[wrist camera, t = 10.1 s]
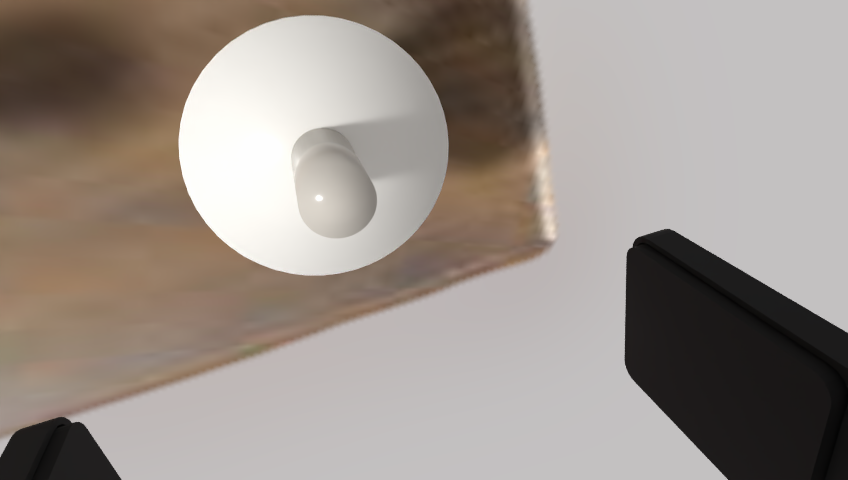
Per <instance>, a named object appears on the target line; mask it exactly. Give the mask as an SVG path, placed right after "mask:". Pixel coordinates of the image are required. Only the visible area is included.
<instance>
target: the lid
mask: <svg viewBox="0 0 848 480" xmlns="http://www.w3.org/2000/svg"><path fill="white" fill-rule="evenodd" d="M448 148H449V142H448V131H447V124H446V120H445V115H444V111H443V108H442V106H441V103H440V100H439V97H438V95H437V93H436V91H435V89H434V87H433V85H432V84H431V82H430V80H429V79H428V77H427V76H426V74H425V73H424V71H423V70H422V69H421V67H420V66H419V65H418V64H417V63H416V62H415V61H414V59H413V58H412V57H411V56H410V55H409V54H408V53H407V52H406V51H404V50H403V49H402V48H401V47H400V46H398V45H397V44H396V43H395V42H393V41H392V40H390V39H389V38H387V37H385V36H384V35H382V34H381V33H379V32H377V31H375V30H373V29H370V28H368V27H366V26H364V25H361V24H359V23H355V22H352V21H349V20H345V19H342V18H337V17H330V16H323V15H299V16H291V17H284V18H280V19H277V20H273V21H269V22H266V23H263V24H261V25H259V26H257V27H254V28H252V29H250V30H248V31H246V32H245V33H243V34H241V35H240V36H238V37H237V38H235V39H233V40H232V41H231V42H230V43H228V44H227V45H226V46H225V47H224V48H223V49H221V50H220V51H219V52H218V53H217V54H216V55H215V56H214V58H213V59H212V60H211V61H210V62H209V63H208V65H207V66H206V67H205V68H204V69H203V71H202V73H201V74H200V76H199V77H198V79H197V81H196V82H195V84H194V85H193V87H192V90H191V92H190V94H189V97H188V99H187V101H186V104H185V107H184V111H183V115H182V119H181V124H180V133H179V158H180V164H181V169H182V175H183V178H184V181H185V184H186V187H187V190H188V193H189V195H190V197H191V199H192V201H193V203H194V205H195V207H196V209H197V210H198V212H199V213H200V215H201V216H202V218H203V219H204V221H205V222H206V223H207V225H208V226H209V227H210V228H211V229H212V230H213V231H214V232H215V234H216V235H217V236H218V237H219V238H221V239H222V240H223V241H224V242H225V243H226V244H227V245H229V246H230V247H231V248H233V249H234V250H236V251H237V252H239V253H240V254H242V255H243V256H245V257H247V258H248V259H250V260H252V261H254V262H256V263H258V264H261V265H263V266H266V267H269V268H272V269H274V270H278V271H283V272H287V273H292V274H300V275H330V274H339V273H343V272H347V271H352V270H355V269H358V268H361V267H364V266H367V265H369V264H371V263H373V262H375V261H377V260H379V259H382V258H383V257H385V256H386V255H388V254H390V253H391V252H393V251H394V250H396V249H397V248H398V247H399V246H401V245H402V244H403V243H404V242H406V241H407V240H408V239H409V238H410V237H411V236H412V235H413V234H414V233H415V232H416V231H417V230H418V228H419V227H420V226H421V224H422V223H423V222H424V221H425V219H426V218H427V216H428V215H429V213H430V211H431V210H432V208H433V206H434V205H435V203H436V200H437V198H438V196H439V193H440V191H441V188H442V185H443V182H444V178H445V175H446V169H447V163H448Z"/></svg>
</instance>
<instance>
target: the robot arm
mask: <svg viewBox="0 0 848 480" xmlns="http://www.w3.org/2000/svg"><path fill="white" fill-rule="evenodd" d="M626 265H627V266H626V268H627V269H626V317H625V365H626V368H627V371H628V373H629V375H630V376H631V378H632V379H633V380H634V381H635V382H636V384H637V385H638V386H639V387H640V388H641V389H642V390H643V391H644V392H645V393H646V394H647V395H648V396H649V397H650V398H651V399H652V400H653V401H654V402H655V403H656V404H657V405H658V407H659V408H660V409H661V410H662V411H663V412H664V413H665V414H666V415H667V416H668V417H669V418H670V419H671V420H672V421H673V422H674V423H675V424H676V425H677V426H678V428H679V429H680V430H681V431H682V432H683V433H684V434H685V435H686V436H687V437H688V438H689V439H690V440H691V441H692V442H693V443H694V444H695V445H696V446H697V447H698V449H700V451H701V452H702V453H703V454H704V455H705V456H706V457H707V458H708V459H709V460H710V461H711V462H712V463H713V464H714V465H715V466H716V467H717V468H718V469H719V470H720V472H722V474H723V475H724V476H725V477H726V478H727V479H728V480H848V333H847V332H845V331H843V330H842V329H840V328H838V327H837V326H835V325H833V324H831V323H830V322H828V321H826V320H825V319H823V318H821V317H820V316H818V315H816V314H814V313H813V312H811V311H809V310H808V309H806V308H804V307H803V306H801V305H799V304H797V303H796V302H794V301H792V300H791V299H788V298H787V297H785V296H783V295H782V294H780V293H779V292H777V291H775V290H774V289H772V288H770V287H768V286H767V285H765V284H763V283H762V282H760V281H758V280H757V279H755V278H753V277H751V276H750V275H748V274H746V273H745V272H743V271H741V270H740V269H738V268H736V267H734V266H733V265H731V264H729V263H728V262H726V261H724V260H722V259H721V258H719V257H717V256H716V255H714V254H712V253H711V252H709V251H707V250H705V249H704V248H702V247H700V246H699V245H697V244H695V243H694V242H692V241H690V240H689V239H687V238H685V237H683V236H681V235H680V234H678V233H676V232H675V231H673V230H670V229H664V230H660V231H657V232H654V233H651V234H647V235H644V236H641V237H638V238H637V239H636V240H635V241H634V243H633V248H630V249H629V250H628V252H627V264H626ZM0 480H121V478H120V477H119V475H118V474H117V472H116V471H115V470H114V468H113V466H112V465H111V464H110V462H109V460H108V459H107V457H106V456H105V455H104V453H103V452H102V450H101V449H100V447H99V446H98V444H97V443H96V442H95V440H94V438H93V437H92V435H91V434H90V432H89V431H88V429H87V428H86V427H85V426H84V424H82V423H80V422H75V423H71V421H70V420H68V419H66V418H65V417H58V418H55V419H52V420H49V421H45V422H42V423H39V424H36V425H32V426H29V427H26V428H23V429H20V430H18V431H17V432H15V433H14V435H13V436H12V437H11V439H10V440H9V442H8V444H7V446H6V448H5V450H4V452H3V454H2V455H1V457H0Z"/></svg>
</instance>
